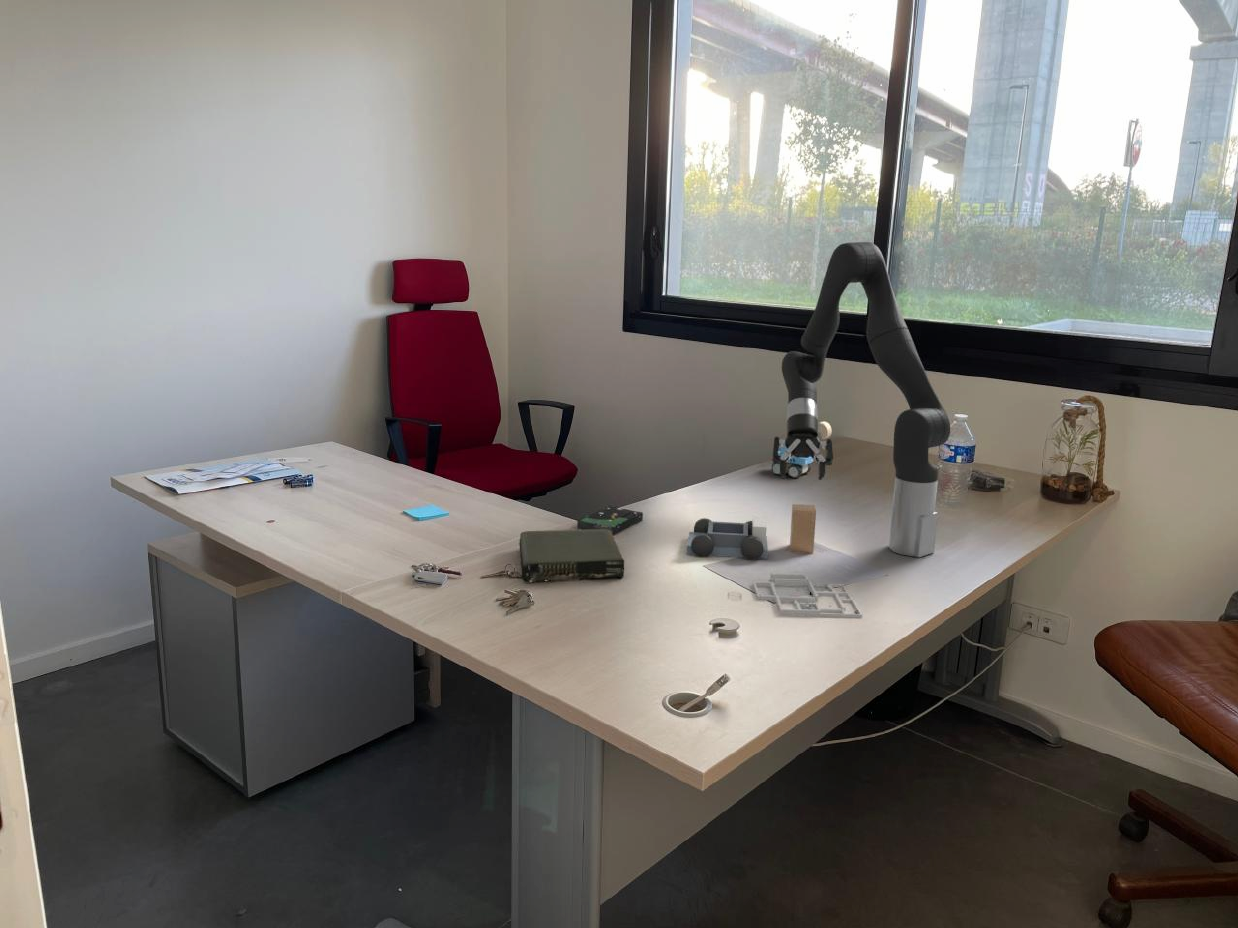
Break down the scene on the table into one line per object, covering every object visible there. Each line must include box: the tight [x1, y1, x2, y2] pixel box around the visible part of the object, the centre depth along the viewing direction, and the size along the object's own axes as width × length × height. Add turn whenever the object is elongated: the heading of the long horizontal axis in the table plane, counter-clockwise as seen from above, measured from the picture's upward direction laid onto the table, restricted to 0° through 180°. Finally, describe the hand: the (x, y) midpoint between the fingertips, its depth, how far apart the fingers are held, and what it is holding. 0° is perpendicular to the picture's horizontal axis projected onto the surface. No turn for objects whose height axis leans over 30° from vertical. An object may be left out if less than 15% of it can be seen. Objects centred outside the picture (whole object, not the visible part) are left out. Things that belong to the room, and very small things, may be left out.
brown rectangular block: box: [789, 503, 817, 554], centre depth 211 cm, size 5×5×10 cm
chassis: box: [686, 515, 769, 561], centre depth 211 cm, size 18×13×7 cm
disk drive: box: [576, 505, 644, 536], centre depth 228 cm, size 10×3×15 cm
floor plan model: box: [752, 573, 863, 618], centre depth 184 cm, size 19×25×2 cm
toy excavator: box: [771, 421, 833, 479], centre depth 275 cm, size 9×17×17 cm, turn 53°
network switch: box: [518, 529, 625, 583], centre depth 201 cm, size 23×24×5 cm
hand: (802, 477), depth 220 cm, fingers open, 8 cm apart
